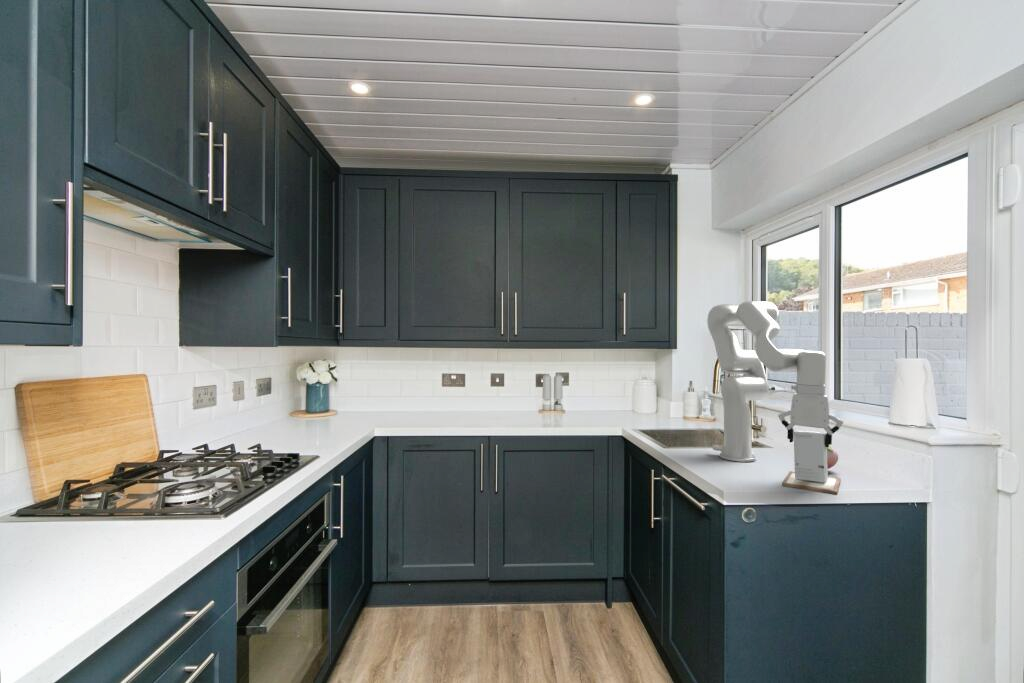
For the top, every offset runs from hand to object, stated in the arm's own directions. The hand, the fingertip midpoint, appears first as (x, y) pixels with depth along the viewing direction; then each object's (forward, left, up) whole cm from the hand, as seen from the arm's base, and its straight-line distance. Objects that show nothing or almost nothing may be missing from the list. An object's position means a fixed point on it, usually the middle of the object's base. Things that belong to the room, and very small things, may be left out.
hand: (809, 444), depth 147 cm
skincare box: (+1, 0, -11) cm, 11 cm away
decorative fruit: (+2, +19, -12) cm, 23 cm away
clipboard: (+1, -1, -12) cm, 12 cm away
